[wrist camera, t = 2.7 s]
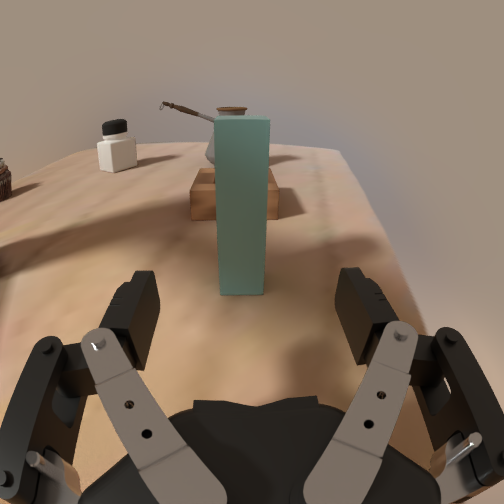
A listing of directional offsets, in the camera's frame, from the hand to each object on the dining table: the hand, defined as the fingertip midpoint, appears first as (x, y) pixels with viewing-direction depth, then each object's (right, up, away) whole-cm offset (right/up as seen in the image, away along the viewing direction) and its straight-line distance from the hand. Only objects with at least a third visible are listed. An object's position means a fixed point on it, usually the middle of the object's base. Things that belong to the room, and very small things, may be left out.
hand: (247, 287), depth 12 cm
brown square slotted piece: (-2, +8, +30) cm, 31 cm away
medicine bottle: (-32, +21, +52) cm, 64 cm away
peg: (-1, -1, +14) cm, 14 cm away
